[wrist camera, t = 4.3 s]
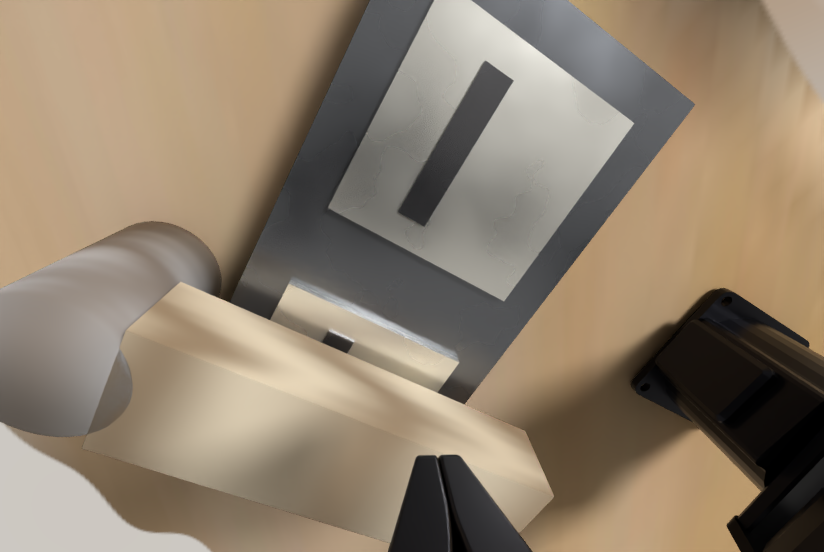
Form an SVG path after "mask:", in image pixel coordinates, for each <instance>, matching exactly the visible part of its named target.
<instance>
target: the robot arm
mask: <svg viewBox="0 0 824 552" xmlns="http://www.w3.org/2000/svg"><path fill="white" fill-rule="evenodd" d="M723 299H724V300H723ZM722 300H723V301H722ZM643 384H644V385H643ZM631 387H632V388H633V389H634V391H635V392H636V393H637V394H639V395H641V396H642V397H644V398H646V399H648V400H650V401H652V402H654V403H656V404H658V405H660V406H662V407H664V408H666V409H668V410H670V411H672V412H674V413H676V414H678V415H680V416H682V417H684V418H686V419H688V420H689V421H691V422H693V423H694V424H695V425H696V426H697V427H698V428H699V429H700V430H701V431H702V432H703V433H704V434H705V435H706V436H707V437H708V438H709V439H710V440H711V441H712V442H713V443H714V444H715V445H716V446H717V447H718V448H719V449H720V450H721V451H722V452H723V453H724V454H725V455H726V456H727V457H728V458H729V459H730V460H731V461H732V462H733V463H734V464H735V465H736V466H737V467H738V468H739V469H740V470H741V471H742V472H743V473H744V474H745V475H746V476H747V477H748V478H749V479H750V480H751V481H752V482H753V483H754V485H755V486H756V487H757V488H758V489H759V490H760V491H761V493H760V494H759V495H758V496H757V497H756V498H755V499H754V500H753V501H752V502H751V503H750V504H749V505H748V506H747V508H746V509H745V510H744V511H743V512H742V513H741V514H740V515H739V516H734V517H733V518H732V519H731V520H730V521H729V522H728V523H727V528H728V529H729V531H730V533H731V535H732V537H733V538H734V540H735V542H736V544H737V546H738V547H739V549H740V551H741V552H824V357H823V356H821V355H819V354H818V353H816V352H814V351H812V350H811V349H809V342H808V341H807V340H806V339H804V338H803V337H801V336H800V335H798V334H796V333H795V332H793V331H792V330H790V329H789V328H787V327H786V326H784V325H783V324H781V323H780V322H778V321H777V320H775V319H774V318H772V317H771V316H769V315H768V314H766V313H765V312H763V311H762V310H760V309H759V308H757V307H756V306H754V305H753V304H751V303H750V302H748V301H747V300H745V299H743V298H742V297H740V296H739V295H737V294H736V293H734V292H732V291H731V290H729V289H726V288H720V289H718V290H716V291H715V292H714V293H712V294H711V296H710V297H709V298H708V299H707V300H706V301H705V302H704V303H703V304H702V305H701V306H700V307H699V309H698V310H697V311H696V312H695V313H694V314H693V315H692V316H691V317H690V318H689V319H688V320H687V321H686V323H685V324H684V325H683V326H682V327H681V328H680V329H679V330H678V331H677V332H676V333H675V334H674V335H673V337H672V338H671V339H670V340H669V341H668V342H667V343H666V344H665V345H664V346H663V347H662V348H661V350H660V351H659V352H658V353H657V354H656V355H655V356H654V357H653V358H652V359H651V360H650V361H649V362H648V364H647V365H646V366H645V367H644V368H643V369H642V370H641V371H640V372H639V373H638V374H637V375H636V376H635V378H634V379H633V380H632V382H631ZM388 552H532V550H531V549H530V548H529V546H528V545H527V544H526V542H525V541H524V540H523V538H522V537H521V536H520V534H519V533H518V532H517V530H516V529H515V528H514V526H513V525H512V524H511V522H510V521H509V520H508V518H507V517H506V516H505V514H504V513H503V512H502V510H501V509H500V508H499V506H498V505H497V504H496V502H495V501H494V500H493V498H492V497H491V496H490V494H489V493H488V492H487V490H486V489H485V488H484V487H483V485H482V484H481V483H480V481H479V480H478V479H477V477H476V476H475V475H474V473H473V472H472V471H471V469H470V468H469V467H468V465H467V464H466V463H465V461H464V460H463V459H462V457H461V456H459V455H457V454H450V455H440V456H439V457H438V458H437V456H436V455H418V456H417V457H416V458H415V461H414V465H413V468H412V471H411V475H410V478H409V482H408V485H407V488H406V492H405V495H404V498H403V502H402V505H401V509H400V512H399V515H398V519H397V522H396V526H395V529H394V532H393V536H392V539H391V543H390V546H389V549H388Z"/></svg>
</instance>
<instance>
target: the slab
mask: <svg viewBox="0 0 824 552" xmlns="http://www.w3.org/2000/svg"><path fill="white" fill-rule="evenodd" d="M694 105H695V104H694V103H693V102H692V101H690V100H689V99H688V98H687V97H685V96H684V95H683V94H682V93H681V92H679V91H678V90H677V89H676V88H674V87H673V86H672V85H671V84H670V83H668V82H667V81H666V80H665V79H663V78H662V77H661V76H660V75H659V74H657V73H656V72H655V71H654V70H652V69H651V68H650V67H649V66H647V65H646V64H645V63H644V62H643V61H641V60H640V59H639V58H638V57H636V56H635V55H634V54H633V53H632V52H630V51H629V50H628V49H627V48H625V47H624V46H623V45H622V44H620V43H619V42H618V41H617V40H616V39H614V38H613V37H612V36H611V35H609V34H608V33H607V32H606V31H605V30H603V29H602V28H601V27H600V26H598V25H597V24H596V23H595V22H593V21H592V20H591V19H590V18H589V17H587V16H586V15H585V14H584V13H582V12H581V11H580V10H579V9H578V8H576V7H575V6H574V5H573V4H571V3H570V2H569V1H568V0H370V1H369V3H368V6H367V8H366V10H365V12H364V14H363V16H362V19H361V21H360V23H359V25H358V27H357V29H356V31H355V34H354V36H353V38H352V40H351V42H350V44H349V46H348V49H347V51H346V53H345V55H344V57H343V59H342V62H341V64H340V66H339V68H338V70H337V72H336V74H335V77H334V79H333V81H332V83H331V85H330V87H329V89H328V92H327V94H326V96H325V98H324V100H323V102H322V105H321V107H320V109H319V111H318V113H317V115H316V117H315V120H314V122H313V124H312V126H311V128H310V130H309V133H308V135H307V137H306V139H305V141H304V143H303V145H302V148H301V150H300V152H299V154H298V156H297V158H296V160H295V163H294V165H293V167H292V169H291V171H290V173H289V176H288V178H287V180H286V182H285V184H284V186H283V188H282V191H281V193H280V195H279V197H278V199H277V201H276V203H275V206H274V208H273V210H272V212H271V214H270V216H269V219H268V221H267V223H266V225H265V227H264V229H263V231H262V234H261V236H260V238H259V240H258V242H257V244H256V247H255V249H254V251H253V253H252V255H251V257H250V259H249V262H248V264H247V266H246V268H245V270H244V272H243V274H242V277H241V279H240V281H239V283H238V285H237V287H236V290H235V292H234V294H233V296H232V298H231V300H230V302H229V303H231V304H233V305H236V306H238V307H240V308H243V309H245V310H247V311H250V312H252V313H254V314H256V315H259V316H261V317H263V318H266V319H268V320H270V321H273V322H275V323H277V324H280V325H282V326H284V327H286V328H289V329H291V330H293V331H296V332H298V333H300V334H303V335H305V336H307V337H310V338H312V339H314V340H316V341H319V342H321V343H323V344H326V345H328V346H330V347H333V348H335V349H337V350H340V351H342V352H344V353H346V354H349V355H351V356H353V357H356V358H358V359H360V360H363V361H365V362H367V363H370V364H372V365H374V366H376V367H379V368H381V369H383V370H386V371H388V372H390V373H393V374H395V375H397V376H400V377H402V378H404V379H406V380H409V381H411V382H413V383H416V384H418V385H420V386H423V387H425V388H427V389H430V390H432V391H434V392H436V393H439V394H441V395H443V396H446V397H448V398H450V399H453V400H455V401H457V402H460V403H462V404H465V403H466V402H467V400H468V399H469V398H470V396H471V395H472V394H473V392H474V391H475V390H476V389H477V387H478V386H479V385H480V383H481V382H482V381H483V379H484V378H485V377H486V376H487V374H488V373H489V372H490V370H491V369H492V368H493V367H494V365H495V364H496V363H497V361H498V360H499V359H500V357H501V356H502V355H503V354H504V352H505V351H506V350H507V348H508V347H509V346H510V344H511V343H512V342H513V341H514V339H515V338H516V337H517V335H518V334H519V333H520V331H521V330H522V329H523V328H524V326H525V325H526V324H527V322H528V321H529V320H530V318H531V317H532V316H533V315H534V313H535V312H536V311H537V309H538V308H539V307H540V305H541V304H542V303H543V302H544V300H545V299H546V298H547V296H548V295H549V294H550V292H551V291H552V290H553V289H554V287H555V286H556V285H557V283H558V282H559V281H560V279H561V278H562V277H563V276H564V274H565V273H566V272H567V270H568V269H569V268H570V267H571V265H572V264H573V263H574V261H575V260H576V259H577V257H578V256H579V255H580V254H581V252H582V251H583V250H584V248H585V247H586V246H587V244H588V243H589V242H590V241H591V239H592V238H593V237H594V235H595V234H596V233H597V231H598V230H599V229H600V228H601V226H602V225H603V224H604V222H605V221H606V220H607V218H608V217H609V216H610V215H611V213H612V212H613V211H614V209H615V208H616V207H617V205H618V204H619V203H620V202H621V200H622V199H623V198H624V196H625V195H626V194H627V192H628V191H629V190H630V189H631V187H632V186H633V185H634V183H635V182H636V181H637V179H638V178H639V177H640V176H641V174H642V173H643V172H644V170H645V169H646V168H647V166H648V165H649V164H650V163H651V161H652V160H653V159H654V157H655V156H656V155H657V154H658V152H659V151H660V150H661V148H662V147H663V146H664V144H665V143H666V142H667V141H668V139H669V138H670V137H671V135H672V134H673V133H674V131H675V130H676V129H677V128H678V126H679V125H680V124H681V122H682V121H683V120H684V118H685V117H686V116H687V115H688V113H689V112H690V111H691V109H692V108H693V107H694Z"/></svg>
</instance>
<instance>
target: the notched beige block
mask: <svg viewBox="0 0 824 552" xmlns="http://www.w3.org/2000/svg"><path fill="white" fill-rule="evenodd" d="M221 283H222V278H221V272H220V268H219V265H218V263H217V260H216V258H215V257H214V255H213V253H212V252H211V251H210V249H209V248H208V247H207V246H206V245H205V244H204V243H203V242H202V241H201V240H200V239H199V238H198V237H196V236H195V235H193V234H192V233H190V232H189V231H187V230H185V229H183V228H181V227H178V226H176V225H172V224H169V223H164V222H153V221H151V222H142V223H137V224H134V225H131V226H129V227H127V228H125V229H123V230H121V231H118V232H116V233H114V234H112V235H110V236H108V237H106V238H104V239H102V240H100V241H98V242H96V243H94V244H92V245H90V246H87V247H85V248H83V249H81V250H79V251H77V252H75V253H73V254H71V255H69V256H67V257H65V258H63V259H61V260H59V261H56V262H54V263H52V264H50V265H48V266H46V267H44V268H42V269H40V270H38V271H36V272H34V273H32V274H30V275H28V276H26V277H23V278H21V279H19V280H17V281H15V282H13V283H11V284H9V285H7V286H5V287H3V288H1V289H0V422H2V423H5V424H7V425H9V426H11V427H14V428H17V429H20V430H23V431H26V432H30V433H34V434H39V435H45V436H55V437H72V436H81V435H86V434H87V435H86V438H85V441H84V443H83V446H82V449H84V450H88V451H91V452H94V453H97V454H101V455H104V456H107V457H111V458H114V459H117V460H120V461H124V462H127V463H130V464H133V465H137V466H140V467H143V468H146V469H150V470H153V471H156V472H159V473H163V474H166V475H169V476H172V477H176V478H179V479H182V480H185V481H189V482H192V483H195V484H198V485H202V486H205V487H208V488H212V489H215V490H218V491H221V492H225V493H228V494H231V495H234V496H238V497H241V498H244V499H247V500H251V501H254V502H257V503H260V504H264V505H267V506H270V507H273V508H277V509H280V510H283V511H286V512H290V513H293V514H296V515H299V516H303V517H306V518H309V519H313V520H316V521H319V522H322V523H326V524H329V525H332V526H335V527H339V528H342V529H345V530H348V531H352V532H355V533H358V534H361V535H365V536H368V537H371V538H374V539H378V540H381V541H384V542H387V543H391V539H392V536H393V532H394V529H395V526H396V522H397V519H398V515H399V512H400V509H401V505H402V502H403V498H404V495H405V492H406V488H407V485H408V482H409V478H410V475H411V471H412V468H413V465H414V461H415V458H416V457H417V456H418V455H436V456H437V458H438V457H439V456H440V455H450V454H457V455H459V456H461V457H462V459H463V460H464V461H465V463H466V464H467V465H468V467H469V468H470V469H471V471H472V472H473V473H474V475H475V476H476V477H477V479H478V480H479V481H480V483H481V484H482V485H483V487H484V488H485V489H486V490H487V492H488V493H489V494H490V496H491V497H492V498H493V500H494V501H495V502H496V504H497V505H498V506H499V508H500V509H501V510H502V512H503V513H504V514H505V516H506V517H507V518H508V520H509V521H510V522H511V524H512V525H513V526H514V528H515V529H516V530H517V532H518V533H520V532H521V531H522V530H523V529H524V528H525V527H526V526H527V525H528V524H529V523H530V522H531V521H532V520H533V519H534V517H535V516H536V515H537V514H538V513H539V512H540V511H541V510H542V509H543V508H544V507H545V506H546V505H547V504H548V503H549V502H550V501H551V500H552V499H553V498H554V495H553V492H552V490H551V488H550V486H549V483H548V481H547V479H546V477H545V474H544V472H543V470H542V468H541V465H540V463H539V461H538V459H537V456H536V454H535V452H534V450H533V447H532V445H531V443H530V441H529V438H528V436H527V434H526V432H525V431H524V430H522V429H520V428H517V427H515V426H513V425H510V424H508V423H506V422H503V421H501V420H499V419H496V418H494V417H492V416H490V415H487V414H485V413H483V412H480V411H478V410H476V409H473V408H471V407H469V406H466V405H464V404H462V403H460V402H457V401H455V400H453V399H450V398H448V397H446V396H443V395H441V394H439V393H436V392H434V391H432V390H430V389H427V388H425V387H423V386H420V385H418V384H416V383H413V382H411V381H409V380H406V379H404V378H402V377H400V376H397V375H395V374H393V373H390V372H388V371H386V370H383V369H381V368H379V367H376V366H374V365H372V364H370V363H367V362H365V361H363V360H360V359H358V358H356V357H353V356H351V355H349V354H346V353H344V352H342V351H340V350H337V349H335V348H333V347H330V346H328V345H326V344H323V343H321V342H319V341H316V340H314V339H312V338H310V337H307V336H305V335H303V334H300V333H298V332H296V331H293V330H291V329H289V328H286V327H284V326H282V325H280V324H277V323H275V322H273V321H270V320H268V319H266V318H263V317H261V316H259V315H256V314H254V313H252V312H250V311H247V310H245V309H243V308H240V307H238V306H236V305H233V304H231V303H229V302H226V301H224V300H222V299H220V298H218V297H219V294H220V291H221Z"/></svg>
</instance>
